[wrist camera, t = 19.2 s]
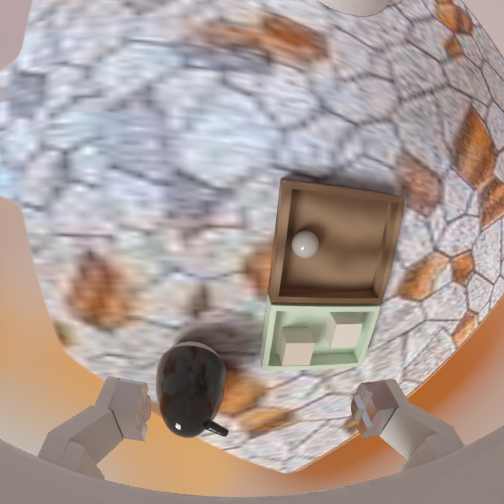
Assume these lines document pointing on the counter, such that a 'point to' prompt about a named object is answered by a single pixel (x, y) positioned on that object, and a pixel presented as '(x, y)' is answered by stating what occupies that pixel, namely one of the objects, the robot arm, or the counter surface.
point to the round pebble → (305, 244)
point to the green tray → (315, 333)
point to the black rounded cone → (191, 389)
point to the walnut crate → (334, 243)
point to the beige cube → (295, 346)
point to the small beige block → (342, 329)
